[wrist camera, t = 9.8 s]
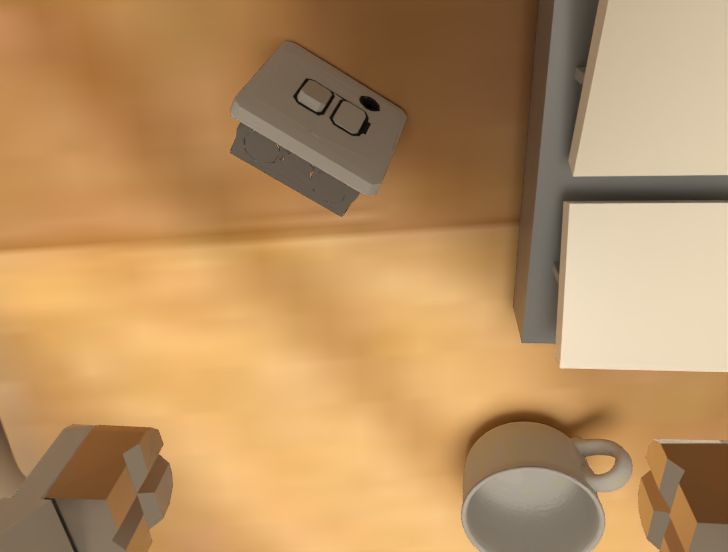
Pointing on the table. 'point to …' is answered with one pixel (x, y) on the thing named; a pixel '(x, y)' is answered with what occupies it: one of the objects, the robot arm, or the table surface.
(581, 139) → the rocker
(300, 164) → the electrical switch
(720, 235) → the block
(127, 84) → the table surface
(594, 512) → the teacup
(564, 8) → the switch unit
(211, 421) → the table surface
